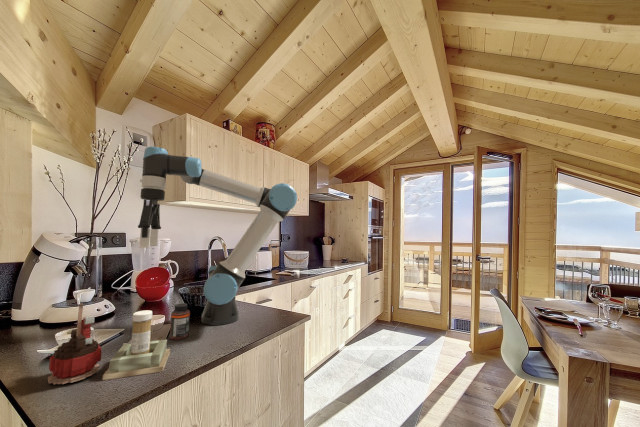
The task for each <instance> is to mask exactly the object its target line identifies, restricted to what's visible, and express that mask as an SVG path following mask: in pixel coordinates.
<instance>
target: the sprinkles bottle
mask: <svg viewBox="0 0 640 427" xmlns="http://www.w3.org/2000/svg"><path fill="white" fill-rule="evenodd" d="M152 319H153V310H147V309H146V310H139V311H136V312H134V313H133V314H132V329H131V330H132V331H131V343H130V344H131V355H138V354H146V353H149V349H150V341H151V336H152V335H151V329H152Z"/></svg>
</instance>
